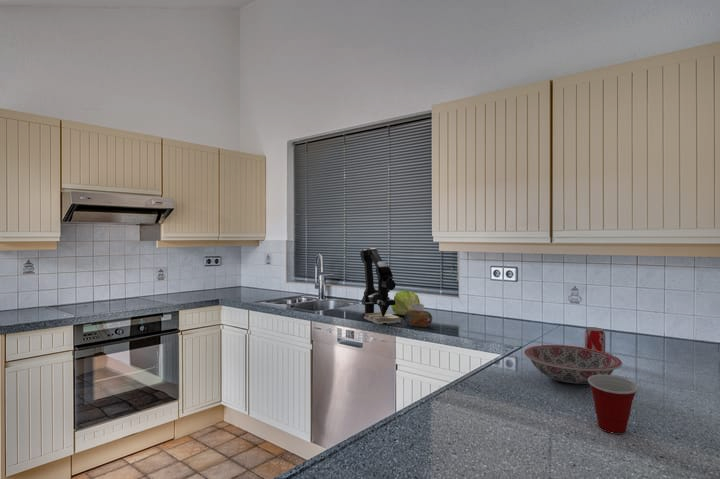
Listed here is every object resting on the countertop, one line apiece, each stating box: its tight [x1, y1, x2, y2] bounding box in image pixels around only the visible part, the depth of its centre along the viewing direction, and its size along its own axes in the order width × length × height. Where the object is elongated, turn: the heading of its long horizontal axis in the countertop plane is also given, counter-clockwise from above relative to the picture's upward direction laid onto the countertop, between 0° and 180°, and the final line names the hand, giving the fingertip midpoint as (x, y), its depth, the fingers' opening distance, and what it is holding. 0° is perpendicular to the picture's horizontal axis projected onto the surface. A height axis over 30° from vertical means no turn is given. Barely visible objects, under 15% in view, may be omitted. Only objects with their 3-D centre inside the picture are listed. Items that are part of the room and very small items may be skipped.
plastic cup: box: [588, 374, 639, 434], centre depth 107 cm, size 11×11×12 cm
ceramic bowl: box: [523, 344, 623, 385], centre depth 144 cm, size 29×29×8 cm
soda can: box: [584, 326, 606, 353], centre depth 167 cm, size 7×7×12 cm
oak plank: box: [368, 312, 401, 322], centre depth 243 cm, size 14×13×2 cm
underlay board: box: [363, 311, 402, 325], centre depth 245 cm, size 18×14×3 cm
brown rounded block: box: [403, 310, 433, 328], centre depth 230 cm, size 15×3×8 cm, turn 62°
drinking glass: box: [412, 303, 425, 311], centre depth 238 cm, size 7×7×10 cm
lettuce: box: [390, 290, 421, 316], centre depth 259 cm, size 17×24×14 cm
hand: (383, 315), depth 243 cm, fingers closed, pressing on oak plank
